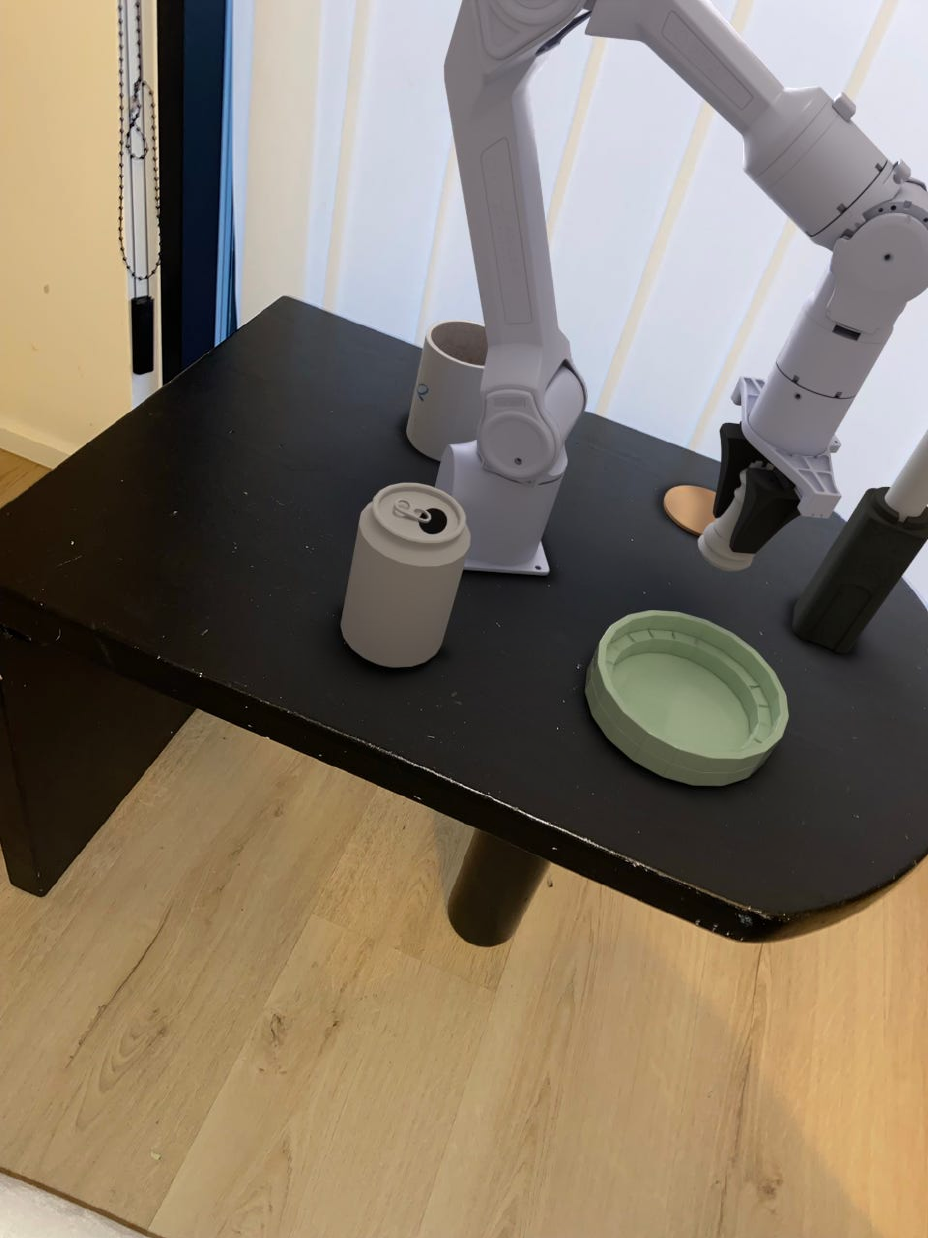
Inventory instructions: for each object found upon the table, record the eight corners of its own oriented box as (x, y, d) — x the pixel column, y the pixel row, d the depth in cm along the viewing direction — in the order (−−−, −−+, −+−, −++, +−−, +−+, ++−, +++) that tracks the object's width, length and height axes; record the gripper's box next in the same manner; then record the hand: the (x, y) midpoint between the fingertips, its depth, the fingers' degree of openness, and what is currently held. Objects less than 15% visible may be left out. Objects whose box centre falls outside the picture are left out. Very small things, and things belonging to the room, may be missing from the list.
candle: (850, 621, 83) (1024, 368, 66) (849, 657, 79) (1033, 399, 63) (794, 599, 84) (953, 343, 67) (791, 635, 80) (957, 372, 63)
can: (427, 688, 66) (464, 559, 58) (325, 657, 66) (348, 524, 58) (449, 620, 72) (486, 493, 64) (355, 591, 72) (379, 461, 64)
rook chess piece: (689, 533, 75) (729, 449, 69) (740, 540, 76) (785, 457, 70) (703, 570, 71) (747, 485, 66) (757, 577, 72) (805, 493, 67)
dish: (610, 788, 64) (627, 756, 61) (565, 637, 73) (578, 604, 71) (796, 791, 67) (819, 760, 65) (729, 646, 77) (747, 615, 75)
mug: (479, 475, 87) (505, 379, 80) (392, 443, 88) (412, 345, 81) (514, 416, 96) (541, 325, 89) (436, 387, 97) (456, 295, 90)
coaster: (677, 537, 87) (679, 533, 86) (653, 484, 92) (654, 481, 92) (755, 544, 89) (757, 540, 88) (726, 492, 94) (728, 489, 94)
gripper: (919, 444, 59) (817, 602, 68) (826, 330, 69) (748, 481, 78) (819, 431, 57) (728, 595, 66) (739, 316, 67) (670, 472, 76)
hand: (733, 533), depth 72 cm, fingers closed on rook chess piece, 3 cm apart
